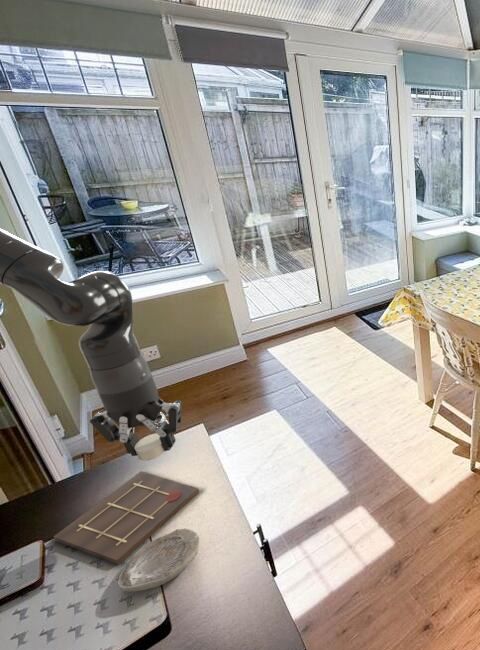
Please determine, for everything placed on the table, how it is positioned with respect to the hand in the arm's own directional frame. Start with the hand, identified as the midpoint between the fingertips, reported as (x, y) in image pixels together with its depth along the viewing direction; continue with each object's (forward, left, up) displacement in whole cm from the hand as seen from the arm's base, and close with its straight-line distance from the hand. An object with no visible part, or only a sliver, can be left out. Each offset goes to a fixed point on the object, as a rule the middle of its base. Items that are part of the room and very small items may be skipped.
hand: (153, 449), depth 81 cm
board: (-5, -5, -14) cm, 16 cm away
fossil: (+11, -11, -14) cm, 21 cm away
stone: (0, 0, 0) cm, 0 cm away
